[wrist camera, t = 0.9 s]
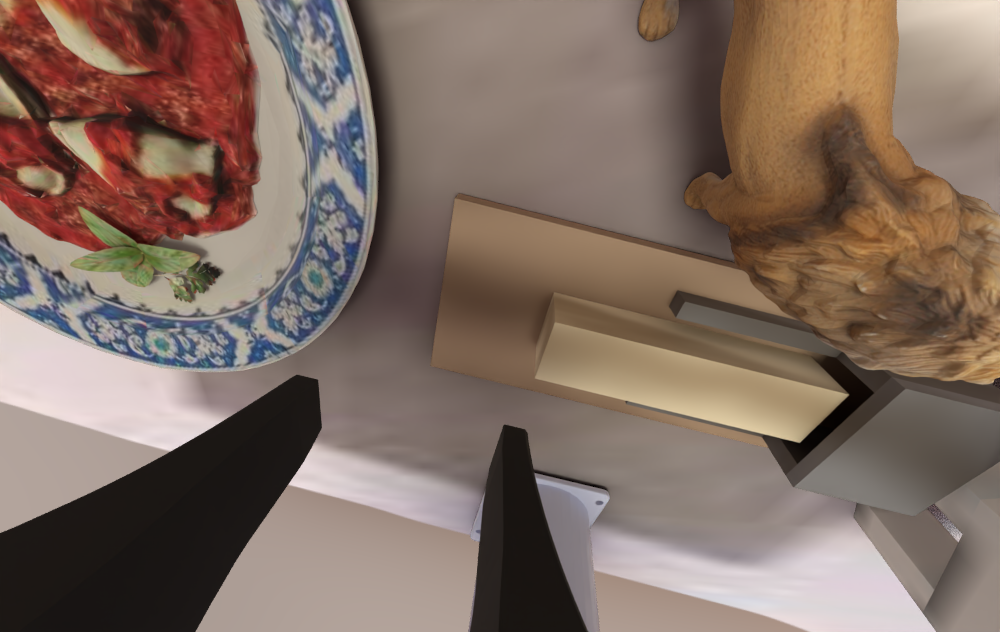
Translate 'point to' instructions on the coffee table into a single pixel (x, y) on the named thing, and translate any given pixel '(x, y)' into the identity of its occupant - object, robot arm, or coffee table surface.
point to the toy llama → (946, 555)
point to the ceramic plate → (184, 174)
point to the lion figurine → (845, 193)
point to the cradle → (714, 307)
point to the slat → (683, 369)
